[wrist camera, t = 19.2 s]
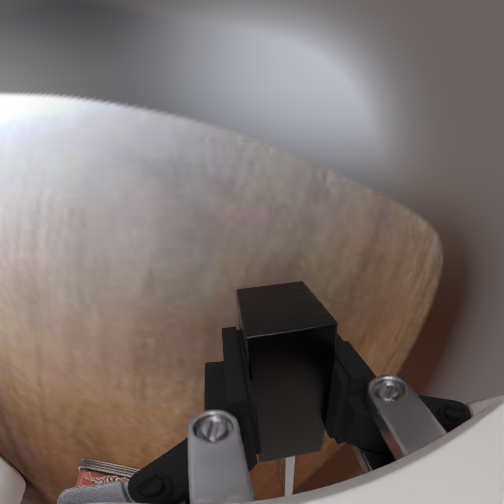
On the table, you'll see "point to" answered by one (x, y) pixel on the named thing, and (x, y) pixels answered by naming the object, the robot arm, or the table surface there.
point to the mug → (10, 484)
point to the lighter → (102, 472)
